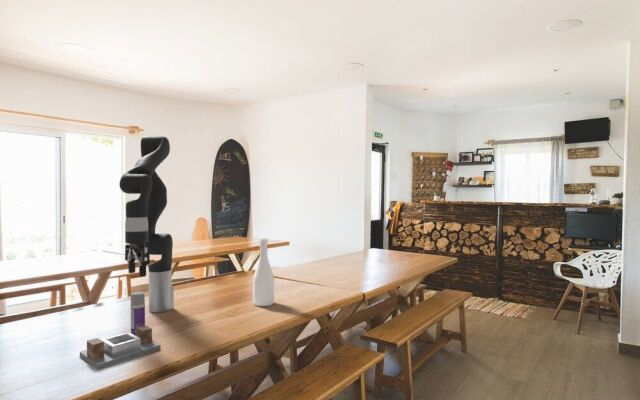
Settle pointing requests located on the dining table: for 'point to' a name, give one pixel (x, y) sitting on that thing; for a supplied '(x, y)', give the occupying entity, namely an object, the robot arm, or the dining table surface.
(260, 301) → the wine bottle
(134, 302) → the container
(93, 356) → the walnut blocks
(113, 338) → the socket
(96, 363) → the base board
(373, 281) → the dining table surface
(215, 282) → the dining table surface
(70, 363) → the dining table surface
